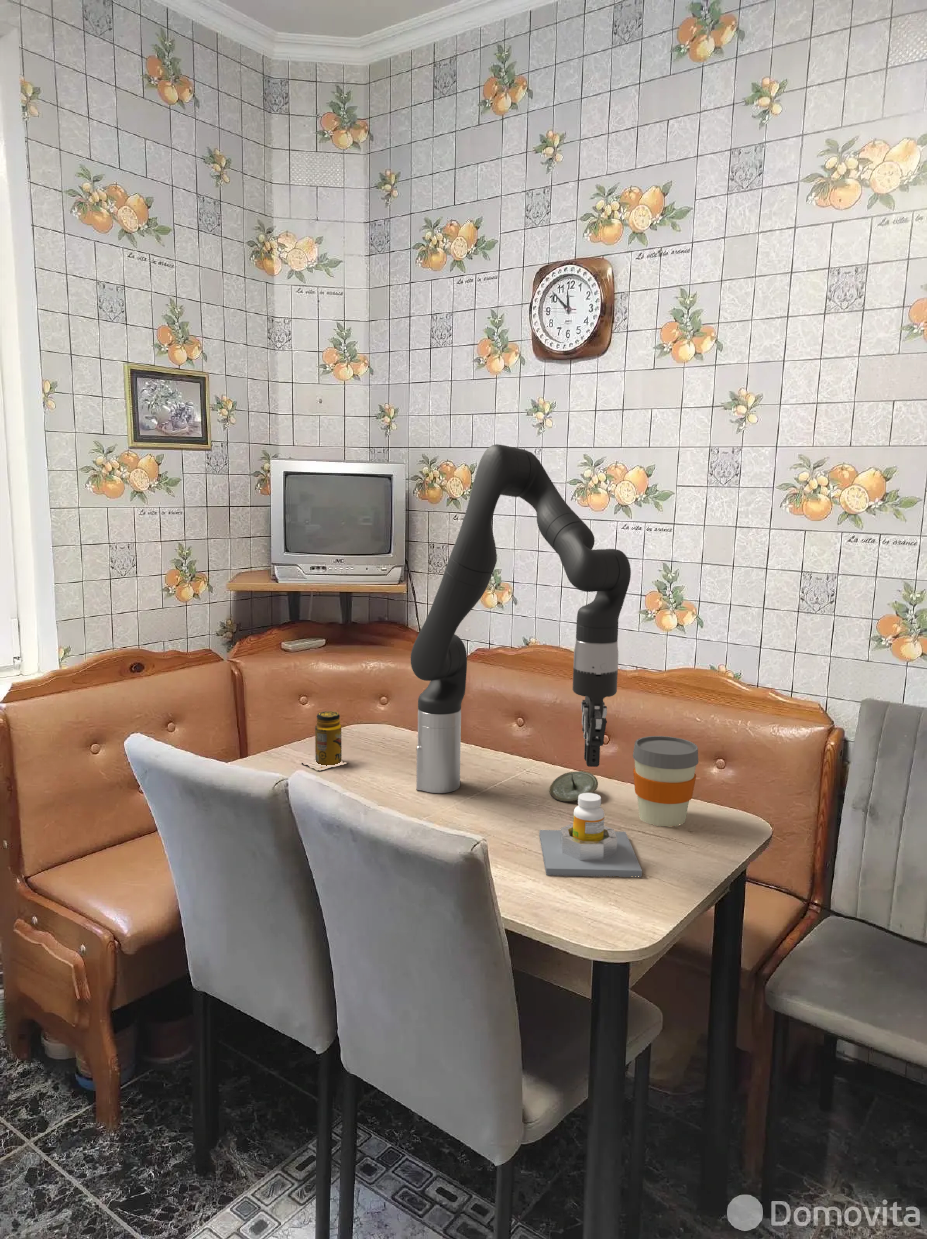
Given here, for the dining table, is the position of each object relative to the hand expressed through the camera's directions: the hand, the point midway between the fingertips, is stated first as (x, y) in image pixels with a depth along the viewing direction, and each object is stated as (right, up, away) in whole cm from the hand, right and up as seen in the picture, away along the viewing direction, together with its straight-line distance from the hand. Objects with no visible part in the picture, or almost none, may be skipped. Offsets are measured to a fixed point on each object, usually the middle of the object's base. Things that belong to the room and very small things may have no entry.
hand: (591, 763), depth 146 cm
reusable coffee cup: (+17, -14, +20) cm, 30 cm away
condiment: (-54, -9, +49) cm, 74 cm away
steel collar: (0, -16, +3) cm, 16 cm away
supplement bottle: (0, -16, +3) cm, 16 cm away
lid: (+1, -12, +32) cm, 34 cm away
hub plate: (0, -17, +3) cm, 17 cm away
